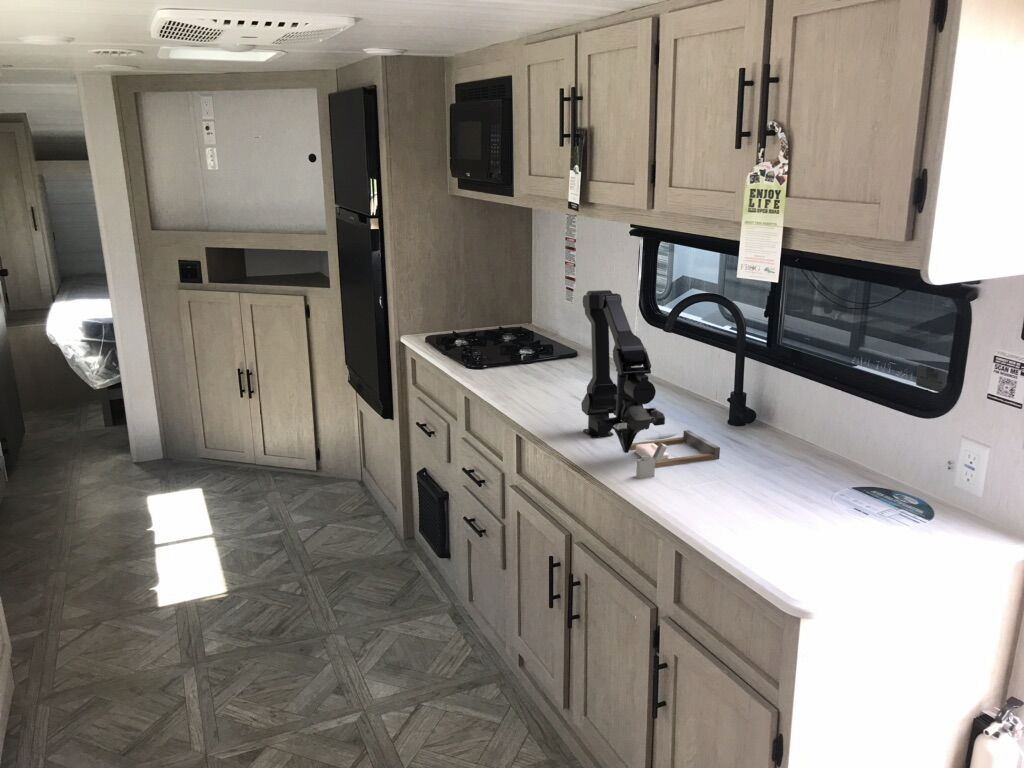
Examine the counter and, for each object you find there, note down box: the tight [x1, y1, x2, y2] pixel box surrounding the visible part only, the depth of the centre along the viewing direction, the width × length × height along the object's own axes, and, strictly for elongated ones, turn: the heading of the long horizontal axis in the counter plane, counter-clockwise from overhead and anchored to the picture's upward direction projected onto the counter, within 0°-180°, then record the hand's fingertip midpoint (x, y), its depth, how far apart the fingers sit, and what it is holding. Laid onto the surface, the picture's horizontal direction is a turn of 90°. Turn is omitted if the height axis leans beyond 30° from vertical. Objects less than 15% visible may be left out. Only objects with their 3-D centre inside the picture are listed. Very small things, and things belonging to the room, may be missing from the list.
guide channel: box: [629, 429, 721, 469], centre depth 222 cm, size 15×19×3 cm
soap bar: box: [635, 443, 670, 461], centre depth 220 cm, size 5×9×2 cm, turn 16°
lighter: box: [635, 443, 668, 479], centre depth 206 cm, size 7×2×8 cm, turn 107°
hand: (625, 452), depth 218 cm, fingers closed
